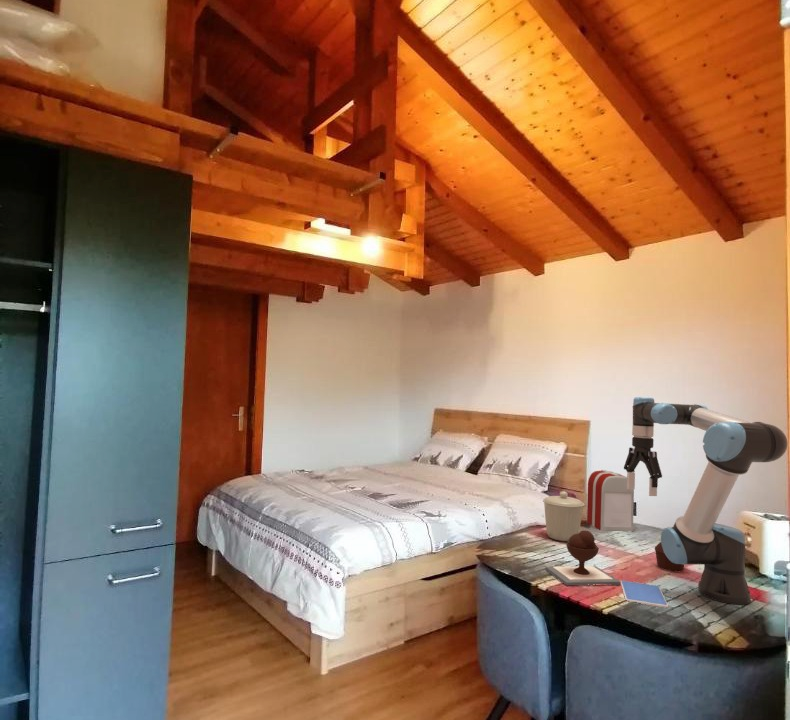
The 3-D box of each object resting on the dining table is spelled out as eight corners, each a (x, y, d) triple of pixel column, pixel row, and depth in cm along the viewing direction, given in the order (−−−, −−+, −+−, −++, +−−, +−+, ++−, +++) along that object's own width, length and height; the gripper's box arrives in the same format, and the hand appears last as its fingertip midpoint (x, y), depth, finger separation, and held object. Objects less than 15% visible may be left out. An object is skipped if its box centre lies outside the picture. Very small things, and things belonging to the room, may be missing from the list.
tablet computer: (619, 583, 191) (620, 579, 191) (659, 588, 187) (659, 584, 187) (625, 603, 172) (625, 599, 172) (669, 610, 168) (669, 605, 169)
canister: (586, 537, 248) (587, 491, 249) (579, 547, 232) (581, 497, 233) (546, 530, 256) (547, 486, 257) (537, 539, 240) (539, 491, 241)
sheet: (612, 580, 188) (612, 578, 188) (570, 580, 185) (570, 579, 186) (592, 567, 201) (592, 566, 201) (552, 568, 198) (552, 566, 198)
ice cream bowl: (592, 568, 198) (593, 527, 199) (601, 578, 187) (602, 535, 188) (563, 566, 200) (564, 524, 200) (569, 576, 188) (570, 532, 189)
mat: (620, 585, 187) (620, 581, 187) (566, 586, 184) (566, 582, 184) (595, 569, 203) (595, 566, 203) (545, 570, 199) (545, 566, 199)
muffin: (655, 560, 217) (656, 535, 218) (687, 566, 211) (687, 540, 212) (652, 568, 207) (653, 542, 207) (685, 575, 201) (686, 547, 202)
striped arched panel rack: (616, 522, 279) (618, 470, 281) (634, 532, 262) (635, 476, 263) (585, 521, 278) (587, 469, 280) (600, 531, 261) (602, 474, 262)
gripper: (673, 440, 198) (672, 499, 197) (632, 434, 222) (630, 486, 221) (654, 440, 197) (653, 499, 195) (615, 433, 221) (614, 486, 220)
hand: (641, 492), depth 208 cm, fingers open, 13 cm apart
